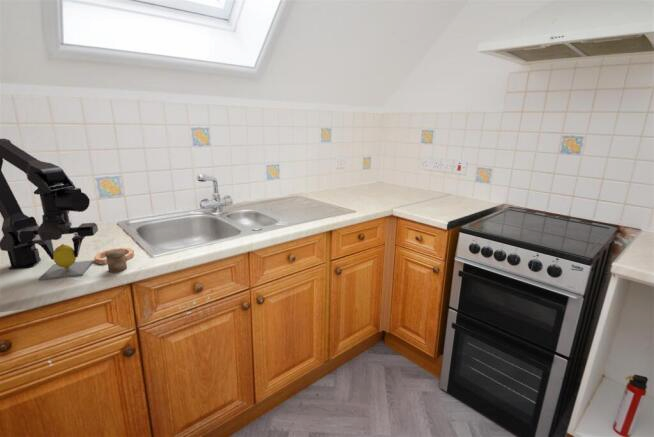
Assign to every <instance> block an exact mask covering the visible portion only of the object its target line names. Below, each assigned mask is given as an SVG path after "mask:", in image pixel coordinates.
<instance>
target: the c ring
mask: <svg viewBox="0 0 654 437" xmlns="http://www.w3.org/2000/svg"><path fill="white" fill-rule="evenodd" d="M115 249H124V250H125V258H126V262H127V261H129V260H130V259H133V258H134V256H135V250H134V249H133V248H131V247H114V248H110V249H105V250H102V251H100V252H97V253H96V254H95V255H94V256H93V259H94V260H93V261H94V262H95V263H97V264H98V265H108V263H107V258H106V256H105V253H106V252H108V251H110V250H115ZM104 257H105V258H104Z"/></svg>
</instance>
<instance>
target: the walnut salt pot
mask: <svg viewBox="0 0 654 437" xmlns="http://www.w3.org/2000/svg"><path fill="white" fill-rule="evenodd" d="M125 255H126V253H125V250H124V249H115V250H110V251H108V252H106V253H105V258H107V268H108V272H109V273H121V272H124V271H126V270H127V268H128V264H127V261H126V258H125Z"/></svg>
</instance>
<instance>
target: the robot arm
mask: <svg viewBox="0 0 654 437" xmlns="http://www.w3.org/2000/svg"><path fill="white" fill-rule="evenodd" d="M4 160H5V161H6V162H8V163H9V164H10V165H12V166H13V167H16V168H17V169H18V170H20V171H22V172H23V173H24V174H25V175H26V178H27V180H28V181H29V182H30V183H31V184H32V185H34V186H35V187H36V189H35V190H34V191H33V194H34V195H39V197H40V199H39V200H40V203H41V207H42V212H43V214H42V216H41V218H42V222H41V223H40V225H38V222H37V220H36V218H35V217H34V216H28V215H26V214H25V213H24V212H23V210H22V208H21V206H20V204H19V203H18V200H17V198H16V196H15V194H14V193H13V190H12V189H11V187H10V184H9V183H8V181H7V179H6V177H5V175H4V173H3V171H2V168H3V164H4ZM89 206H90V198H89V197H88V195H87V193H85V192H82V189H81V188H80V187H76V185H75V184H74V182H73V180H71V179H70V178H69V177H68V175H67V174H66V172H65V171H64V170H63V168H62V167H60V166H58V165H56V164H53V163H51V162H46V161H41V160H39V159H37V158H35V157H34V156H33V155H31V154H29V153H28V152H26V151H25V150H23V149H22V148H20V147H18V146H17V145H16V144H14V143H12V142H11V140H10V139H7V138H0V215H1V217H2V219H3V220H2V226H1V232H2V234H3V235H2V238H1V239H0V250H1V251H5V252H7V256H8V259H9V263H10V266H8V267H7V268H8V270H13V269H24V268H31V267H34V266H35V265H37V264H38V263H39V262H41V260H42V258H41V257H40V252H39V249H38V248H36V244H37V245H39V246H40V247H41V248H42V249H43V250H44V252H46V254H47V255H48V257H49V258H50V259H51V260H52V261H54V258H53V254H54V251H55V248H54V244H53V241H58V240H60V239H62V237H63V235H70V234H71V235H72V234H73V235H74V236H73V237H72V238H71V241H72V243H73V249H74V254H75V257H76V258H78V257H79V254H80V249H81V246H82V242H83V240H84V239H85V238H86V237H93V236H94V235H95V234H97V232H99V228H98V225H97V223H95V222H87V223H83V222H82V223H81V224H80V225H79V226H76V227H72V226H73V225H72V222H71V221H70V217H69V213H70V212H74V213H75V212H78V213H81V212H84V211H86V210H88V208H89Z"/></svg>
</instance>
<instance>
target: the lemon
mask: <svg viewBox="0 0 654 437" xmlns="http://www.w3.org/2000/svg"><path fill="white" fill-rule="evenodd" d="M53 258H54V260H53V261H54V264H57V265H58V266H60V267H64V268H66V269H67V268H69V266H71V265H73V264H74V262H76V259H77V257H75V254H74V247H72V246H70V245H67V244H64V243H63V244H61V245H59V246H57V247H56V248H54V254H53Z"/></svg>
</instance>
